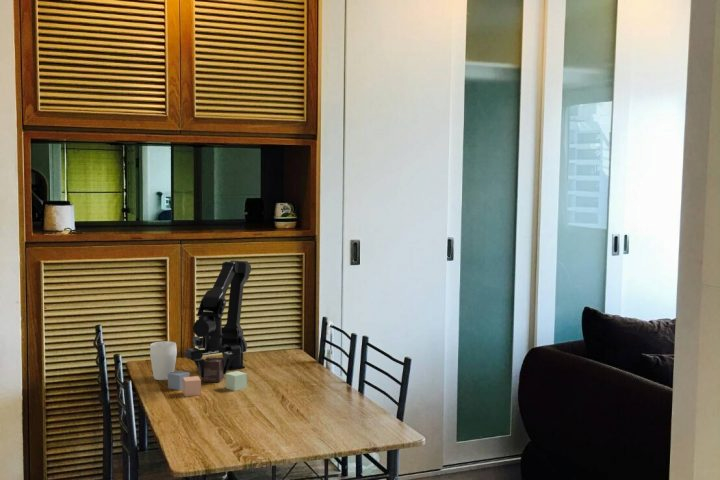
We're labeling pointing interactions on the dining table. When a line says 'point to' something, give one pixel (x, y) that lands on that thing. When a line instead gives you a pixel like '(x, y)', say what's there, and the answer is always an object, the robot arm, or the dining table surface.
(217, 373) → the box
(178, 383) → the cube slate
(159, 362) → the cup
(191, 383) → the cube terracotta
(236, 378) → the cube sage
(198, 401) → the dining table surface
